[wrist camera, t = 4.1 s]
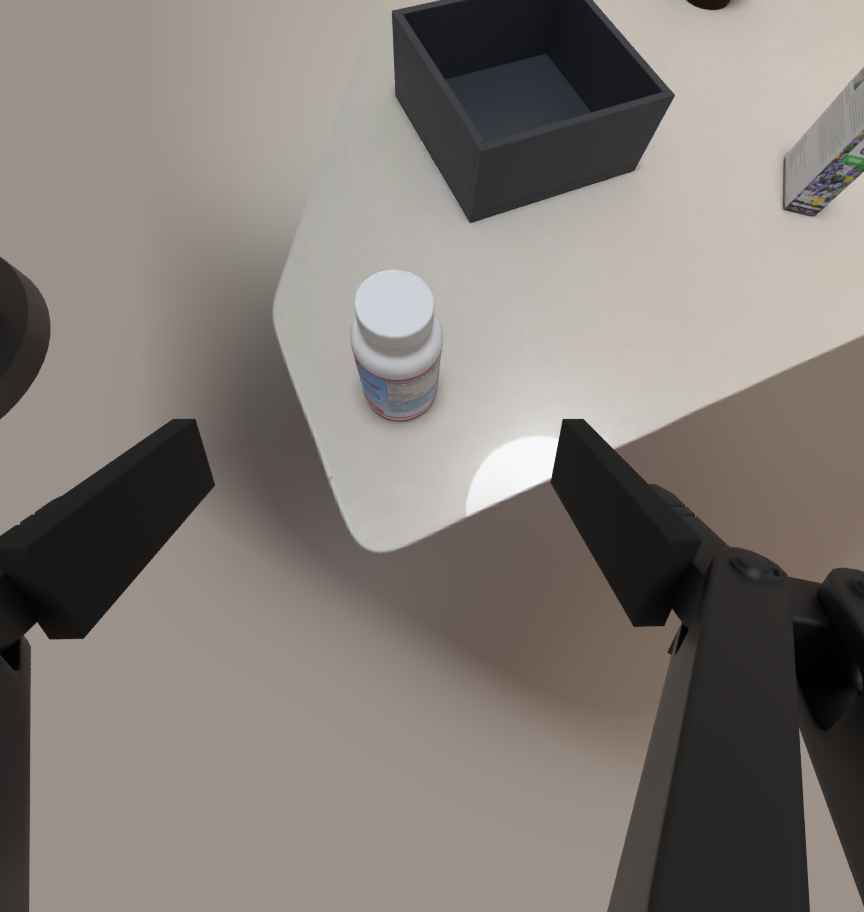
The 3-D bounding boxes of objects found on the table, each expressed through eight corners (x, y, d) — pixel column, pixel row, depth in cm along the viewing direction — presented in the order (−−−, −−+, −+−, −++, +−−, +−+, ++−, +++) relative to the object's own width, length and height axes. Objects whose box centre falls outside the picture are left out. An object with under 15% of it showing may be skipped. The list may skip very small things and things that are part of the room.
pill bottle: (358, 366, 33) (330, 268, 22) (426, 352, 34) (431, 249, 23) (373, 430, 31) (351, 358, 21) (445, 413, 32) (459, 335, 21)
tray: (395, 95, 43) (391, 10, 36) (547, 56, 46) (568, -29, 39) (470, 222, 38) (481, 151, 32) (634, 170, 41) (675, 95, 35)
